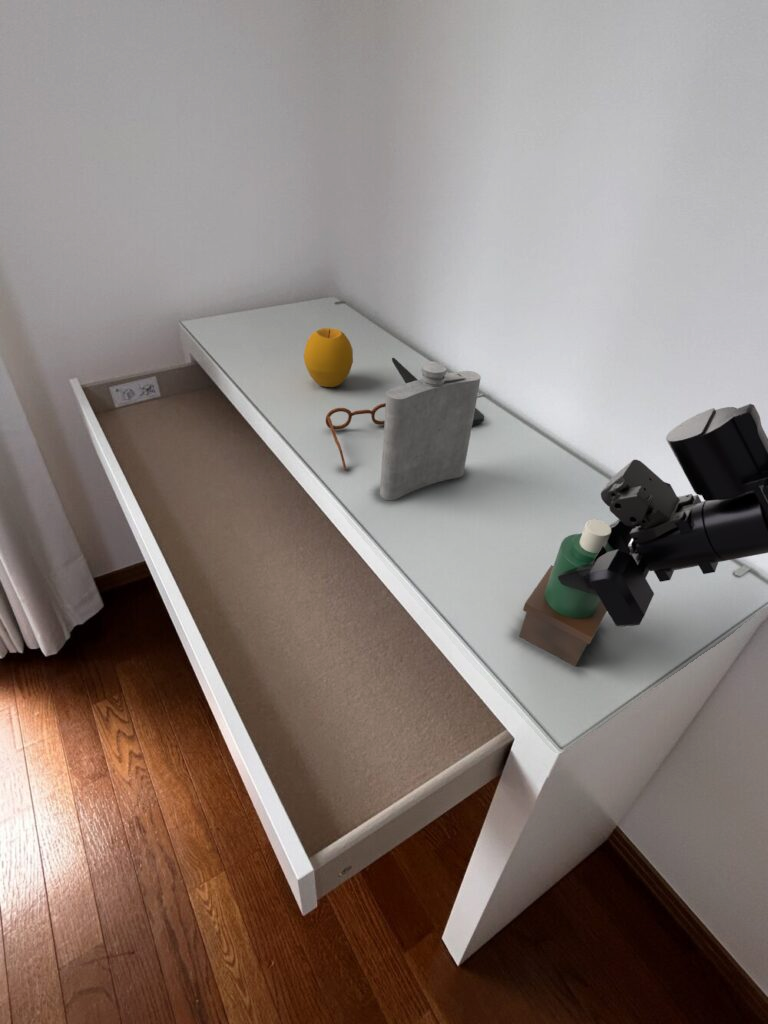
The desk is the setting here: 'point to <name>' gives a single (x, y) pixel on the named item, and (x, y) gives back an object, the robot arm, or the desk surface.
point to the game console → (410, 378)
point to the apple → (328, 357)
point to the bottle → (571, 556)
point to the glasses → (329, 423)
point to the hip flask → (427, 429)
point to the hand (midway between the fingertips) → (570, 563)
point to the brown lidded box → (557, 626)
